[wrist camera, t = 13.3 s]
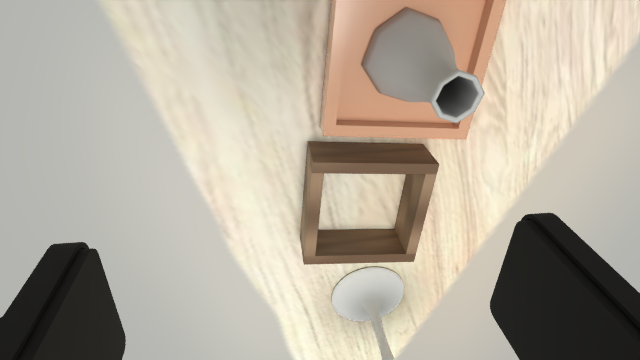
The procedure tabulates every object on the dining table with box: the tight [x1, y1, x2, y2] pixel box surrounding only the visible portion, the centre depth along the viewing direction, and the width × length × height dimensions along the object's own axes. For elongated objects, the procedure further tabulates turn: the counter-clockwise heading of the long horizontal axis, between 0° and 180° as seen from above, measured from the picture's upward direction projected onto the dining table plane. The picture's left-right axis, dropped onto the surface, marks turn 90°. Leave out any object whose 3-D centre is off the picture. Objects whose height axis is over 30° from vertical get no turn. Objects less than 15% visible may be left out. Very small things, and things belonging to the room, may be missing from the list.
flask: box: [361, 7, 485, 123], centre depth 29 cm, size 7×7×10 cm
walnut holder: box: [300, 142, 439, 264], centre depth 39 cm, size 11×11×4 cm
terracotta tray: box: [320, 0, 506, 139], centre depth 33 cm, size 13×13×2 cm
